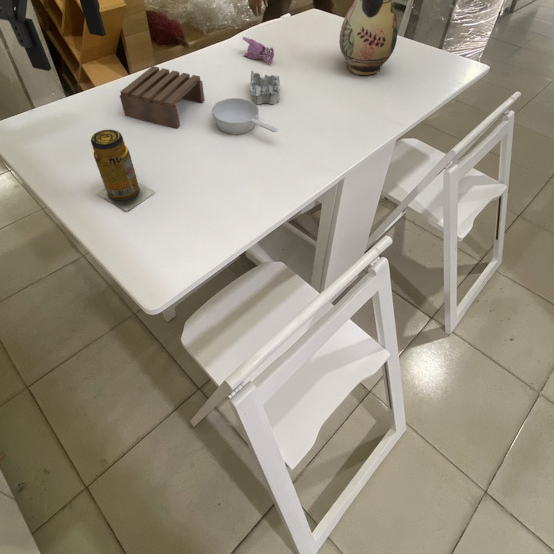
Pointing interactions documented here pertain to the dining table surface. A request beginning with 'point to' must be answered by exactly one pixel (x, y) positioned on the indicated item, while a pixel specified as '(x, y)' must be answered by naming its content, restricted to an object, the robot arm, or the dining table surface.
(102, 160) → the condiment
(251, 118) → the saucepan
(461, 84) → the dining table surface
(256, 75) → the egg carton
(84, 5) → the robot arm
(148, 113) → the rack
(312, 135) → the dining table surface
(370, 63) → the ceramic jug
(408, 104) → the dining table surface
